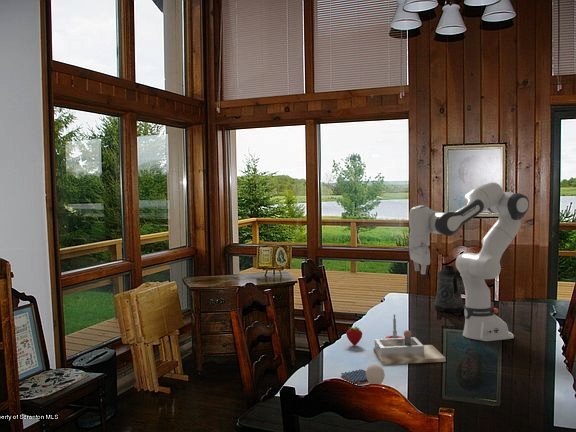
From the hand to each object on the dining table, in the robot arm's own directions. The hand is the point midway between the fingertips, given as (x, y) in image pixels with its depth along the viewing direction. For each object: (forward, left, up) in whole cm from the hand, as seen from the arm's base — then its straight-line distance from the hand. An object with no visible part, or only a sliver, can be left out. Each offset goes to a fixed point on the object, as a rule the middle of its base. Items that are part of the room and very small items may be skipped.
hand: (420, 272), depth 231 cm
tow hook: (+10, -10, -34) cm, 36 cm away
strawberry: (+30, -4, -33) cm, 45 cm away
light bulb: (+32, +54, -33) cm, 71 cm away
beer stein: (-36, -64, -33) cm, 81 cm away
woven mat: (+35, +37, -34) cm, 61 cm away
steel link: (+13, +12, -32) cm, 36 cm away
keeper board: (+10, +14, -33) cm, 37 cm away
